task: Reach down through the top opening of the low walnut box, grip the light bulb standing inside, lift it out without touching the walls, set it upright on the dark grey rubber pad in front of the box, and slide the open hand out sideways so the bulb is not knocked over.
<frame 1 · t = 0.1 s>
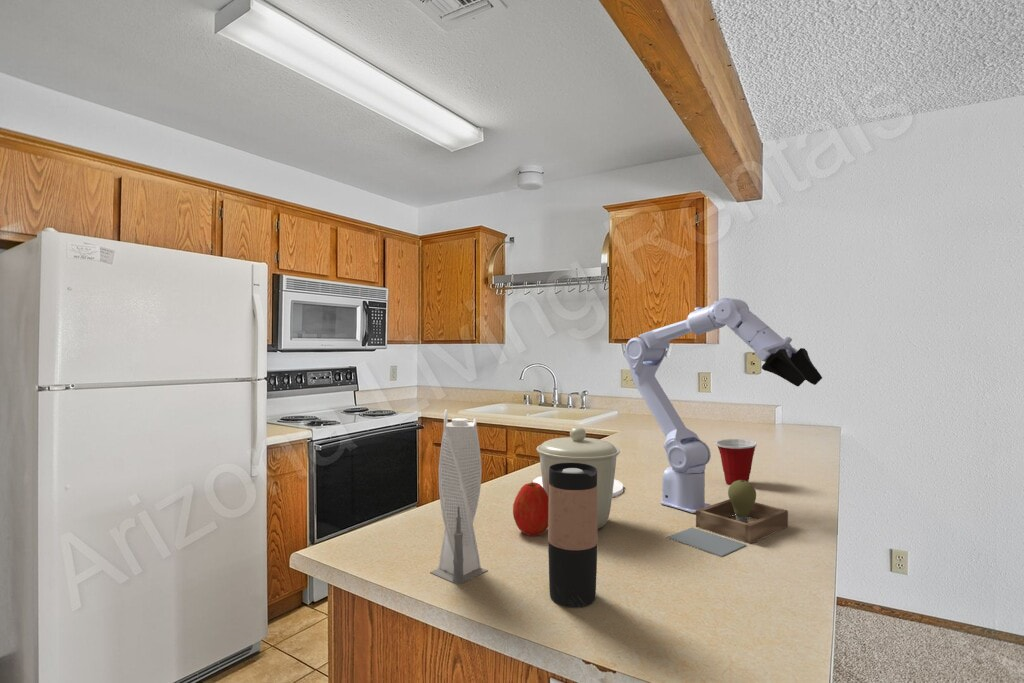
hand: (810, 382, 104), 32 cm above the worktop, tool tilted 50°, fingers open, 7 cm apart
dish: (577, 488, 143), on the worktop
plastic cup: (735, 484, 147), on the worktop
skyscraper: (458, 572, 90), on the worktop
light bulb: (742, 527, 112), resting in walnut box
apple: (532, 533, 109), on the worktop
travel mug: (572, 597, 81), on the worktop
walnut box: (742, 526, 112), on the worktop
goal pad: (705, 541, 104), on the worktop
canister: (577, 524, 114), on the worktop
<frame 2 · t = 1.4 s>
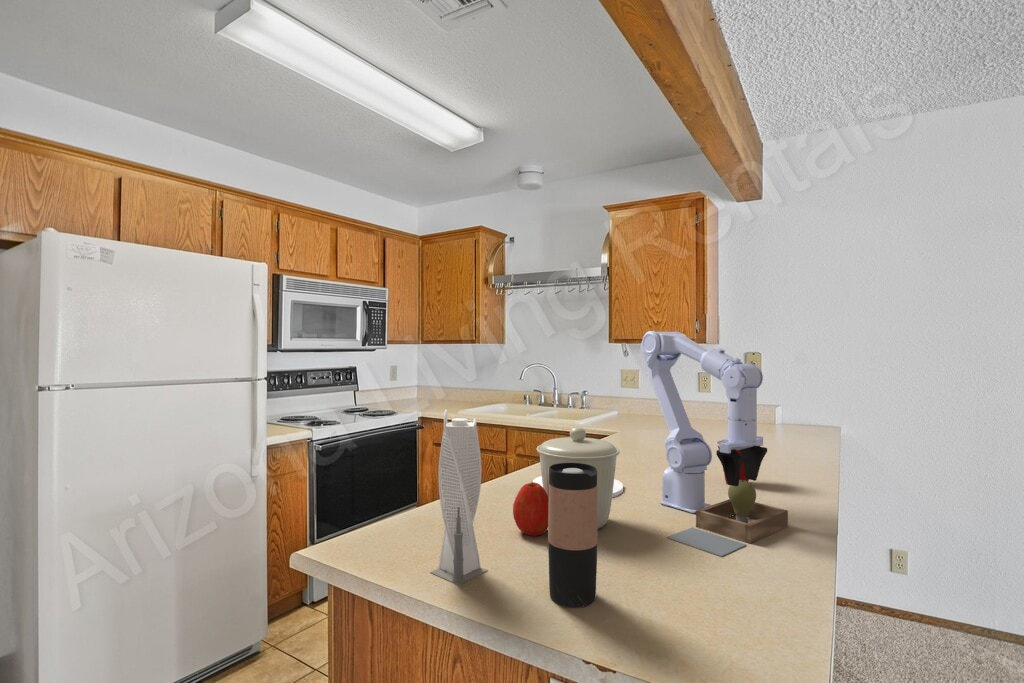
hand: (742, 482, 112), 10 cm above the worktop, tool pointing down, fingers open, 7 cm apart
nothing on the worktop moved.
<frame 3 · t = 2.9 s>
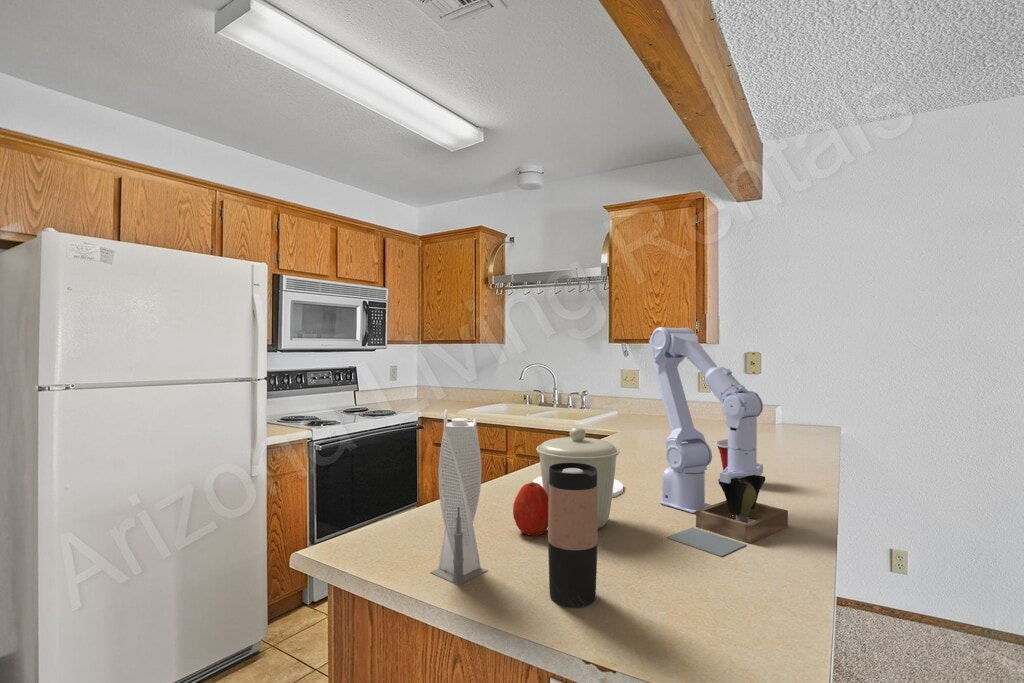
hand: (742, 510, 112), 3 cm above the worktop, tool pointing down, fingers closed on light bulb, 5 cm apart
light bulb: (742, 527, 112), resting in walnut box, touching gripper
everything else where it was.
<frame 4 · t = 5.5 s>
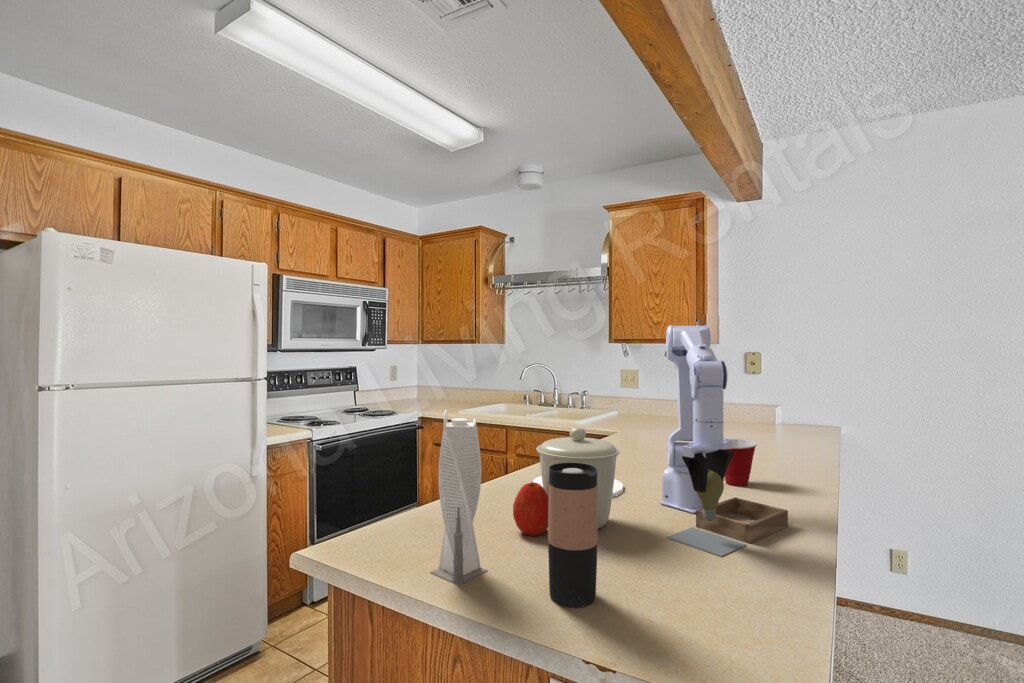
hand: (708, 488, 104), 10 cm above the worktop, tool pointing down, fingers closed on light bulb, 5 cm apart
light bulb: (709, 521, 104), point 4 cm above the worktop, touching gripper
everything else where it was.
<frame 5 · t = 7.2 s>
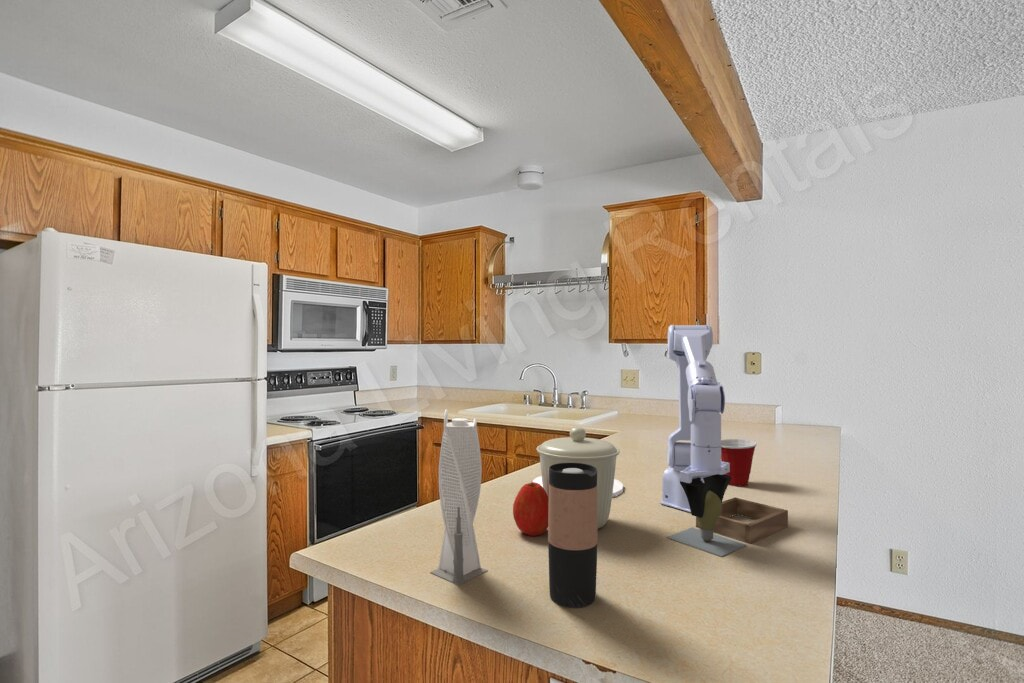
hand: (705, 513, 104), 6 cm above the worktop, tool pointing down, fingers closed on light bulb, 5 cm apart
light bulb: (707, 542, 103), resting on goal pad, touching gripper
everything else where it was.
when the fingers open (6 cm above the worktop, at t = 8.2 s): light bulb stays where it is, resting on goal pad.
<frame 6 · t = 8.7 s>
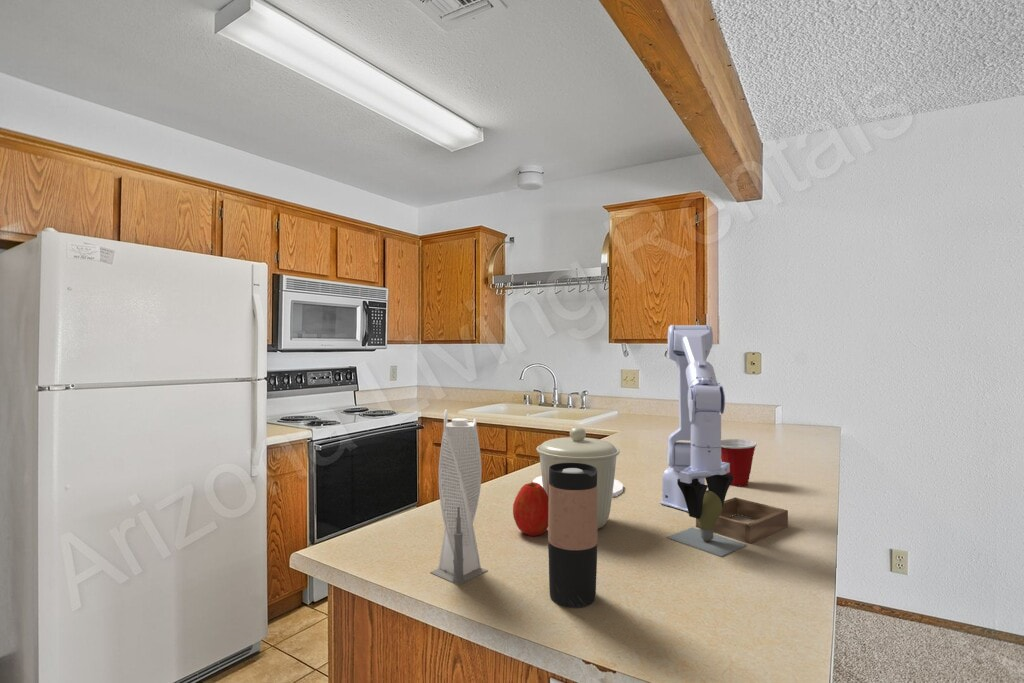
hand: (705, 513, 104), 6 cm above the worktop, tool pointing down, fingers open, 7 cm apart
light bulb: (707, 542, 103), resting on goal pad
everything else where it was.
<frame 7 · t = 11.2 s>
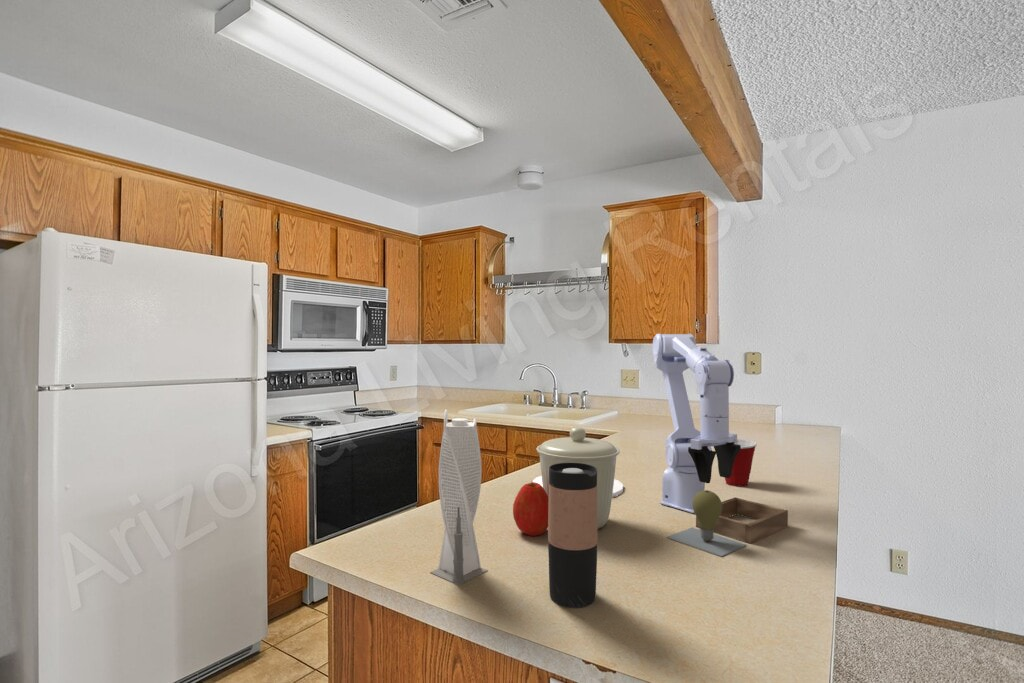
hand: (714, 479, 111), 10 cm above the worktop, tool pointing down, fingers open, 7 cm apart
nothing on the worktop moved.
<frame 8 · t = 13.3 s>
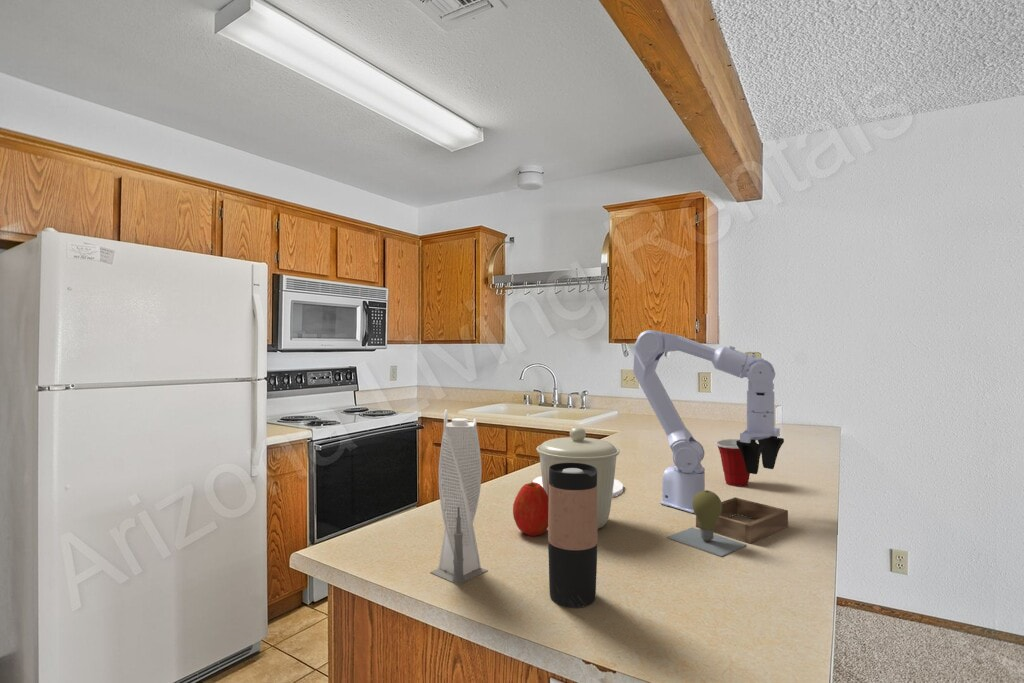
hand: (760, 470, 119), 10 cm above the worktop, tool pointing down, fingers open, 7 cm apart
nothing on the worktop moved.
at the end: light bulb inside the target area on the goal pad (0.3 cm from its centre), point 0.0 cm above the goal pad's base; light bulb tilted 0°; the gripper is holding nothing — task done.
